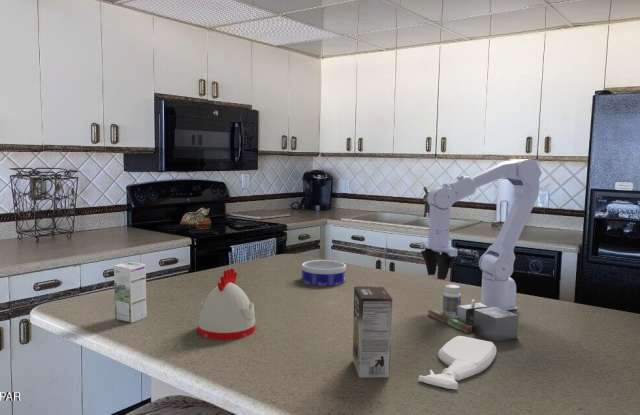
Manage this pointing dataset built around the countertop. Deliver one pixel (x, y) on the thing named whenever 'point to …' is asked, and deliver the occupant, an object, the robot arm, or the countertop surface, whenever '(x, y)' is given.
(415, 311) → the countertop surface
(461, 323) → the gauge rails
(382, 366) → the coffee box
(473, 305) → the small grey block
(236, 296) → the kitchen timer
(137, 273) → the syrup box
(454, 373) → the spray bottle
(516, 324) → the block
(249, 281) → the countertop surface
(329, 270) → the dog bowl
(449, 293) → the pill bottle
